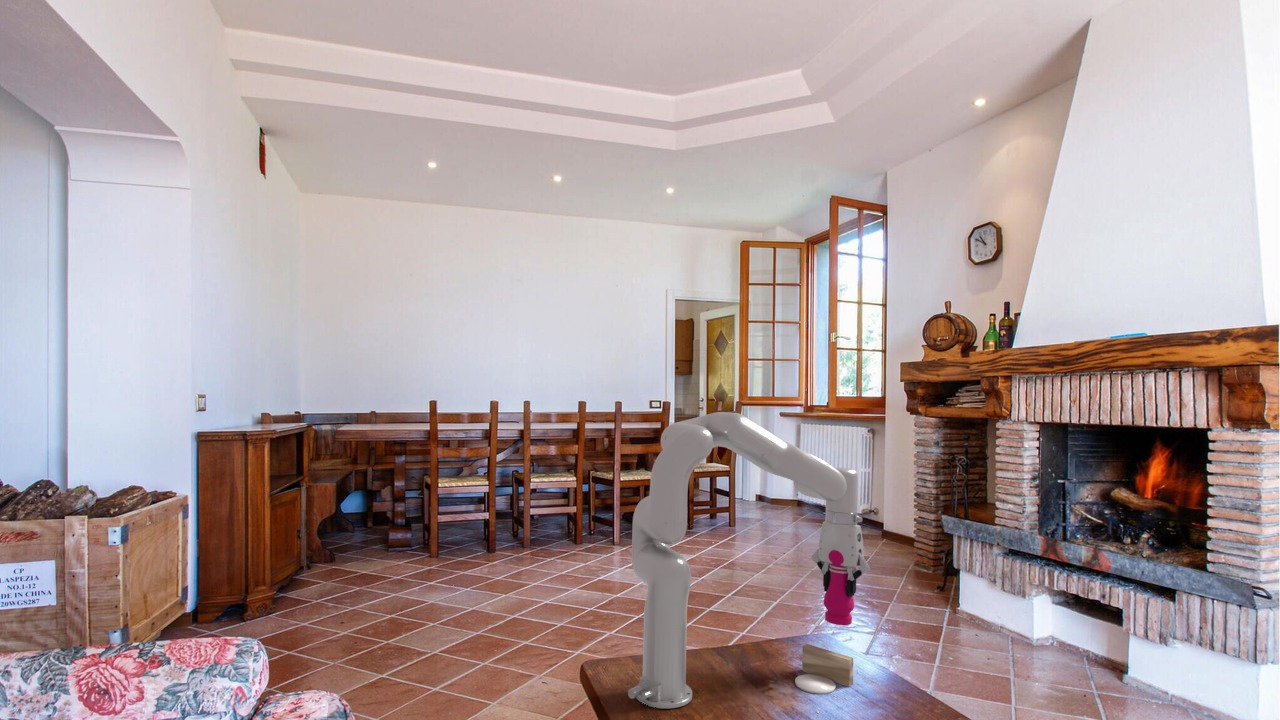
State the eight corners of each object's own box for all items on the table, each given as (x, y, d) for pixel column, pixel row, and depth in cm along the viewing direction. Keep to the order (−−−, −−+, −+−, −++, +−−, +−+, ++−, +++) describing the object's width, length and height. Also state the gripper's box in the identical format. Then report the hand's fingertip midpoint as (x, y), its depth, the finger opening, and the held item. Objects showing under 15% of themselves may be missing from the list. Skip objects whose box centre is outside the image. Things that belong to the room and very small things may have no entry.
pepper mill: (842, 628, 155) (845, 542, 156) (817, 619, 160) (819, 537, 161) (859, 623, 159) (861, 540, 160) (834, 614, 165) (836, 534, 166)
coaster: (824, 697, 144) (824, 695, 144) (788, 685, 150) (788, 682, 150) (842, 685, 151) (842, 682, 151) (806, 673, 157) (806, 671, 157)
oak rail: (849, 686, 150) (849, 660, 151) (802, 671, 158) (802, 645, 159) (853, 684, 152) (853, 657, 152) (806, 668, 160) (806, 643, 160)
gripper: (881, 522, 158) (879, 598, 157) (816, 511, 170) (814, 582, 169) (868, 525, 153) (866, 604, 152) (802, 514, 164) (800, 588, 163)
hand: (839, 592), depth 160 cm, fingers closed on pepper mill, 5 cm apart
